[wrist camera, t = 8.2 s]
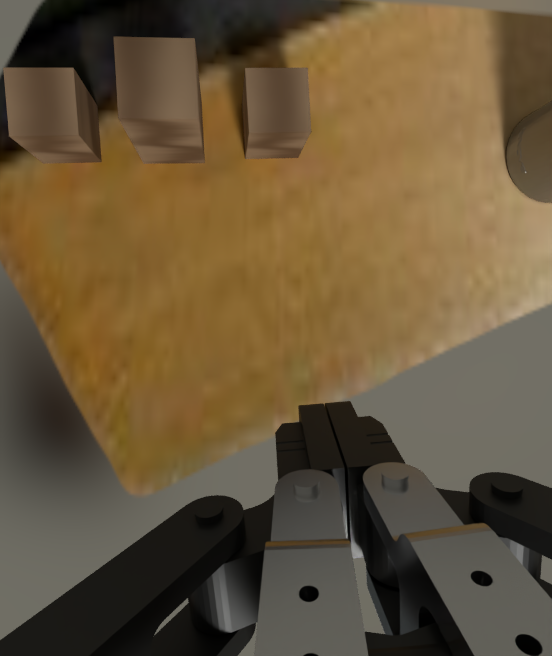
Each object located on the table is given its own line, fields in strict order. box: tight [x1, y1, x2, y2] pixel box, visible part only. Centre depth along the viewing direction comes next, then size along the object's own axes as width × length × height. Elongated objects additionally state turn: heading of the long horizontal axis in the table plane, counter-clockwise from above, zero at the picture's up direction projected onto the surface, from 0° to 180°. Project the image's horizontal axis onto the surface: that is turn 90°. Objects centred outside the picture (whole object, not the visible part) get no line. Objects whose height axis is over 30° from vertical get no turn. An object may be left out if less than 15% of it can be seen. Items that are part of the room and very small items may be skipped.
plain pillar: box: [114, 37, 205, 164], centre depth 37 cm, size 6×6×10 cm
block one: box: [242, 68, 311, 159], centre depth 39 cm, size 5×5×6 cm
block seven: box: [4, 68, 101, 163], centre depth 37 cm, size 5×5×6 cm
